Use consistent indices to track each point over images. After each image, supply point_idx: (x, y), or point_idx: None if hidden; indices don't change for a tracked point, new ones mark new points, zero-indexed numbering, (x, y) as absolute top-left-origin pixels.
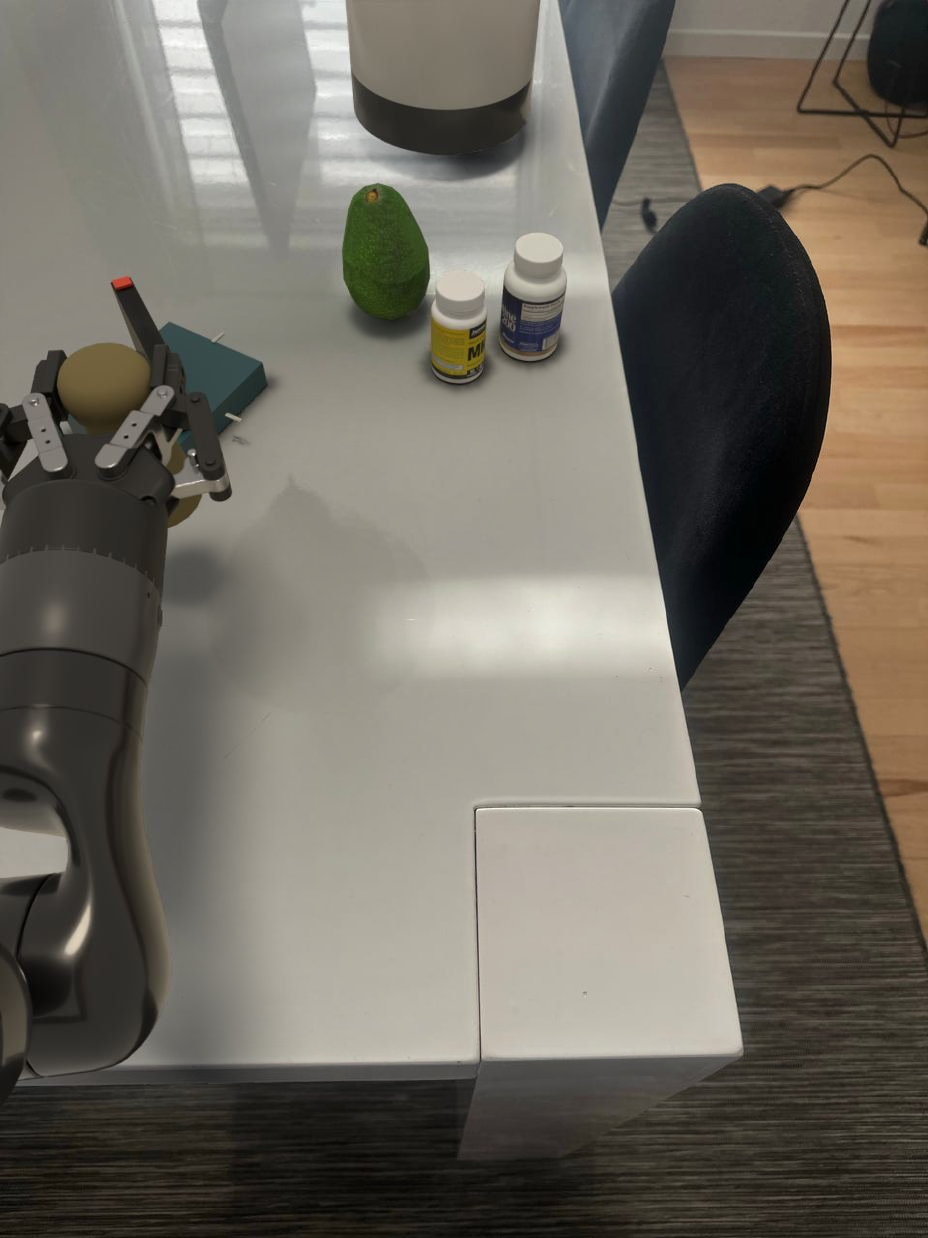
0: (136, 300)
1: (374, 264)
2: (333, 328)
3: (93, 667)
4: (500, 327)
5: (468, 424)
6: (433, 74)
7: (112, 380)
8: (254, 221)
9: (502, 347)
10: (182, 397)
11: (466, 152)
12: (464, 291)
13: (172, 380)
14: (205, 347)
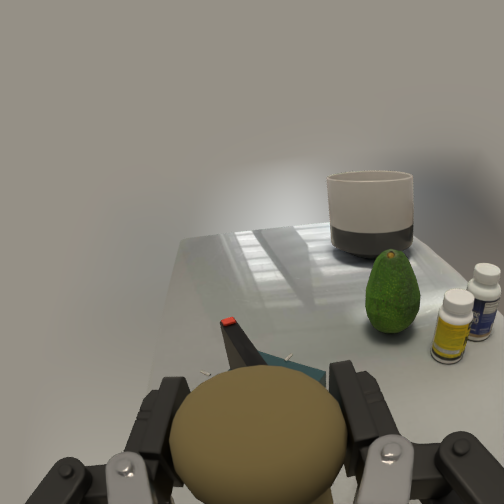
0: (239, 332)
1: (396, 296)
2: (359, 344)
3: None
4: None
5: (473, 387)
6: (379, 217)
7: (288, 444)
8: (291, 294)
9: None
10: (417, 449)
11: None
12: (464, 299)
13: (382, 419)
14: (280, 364)
